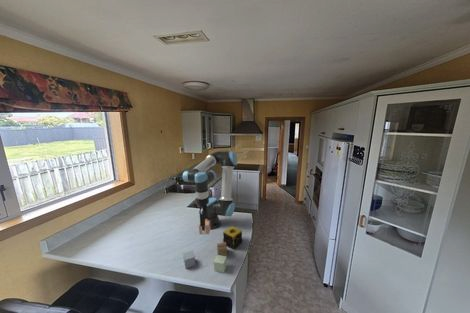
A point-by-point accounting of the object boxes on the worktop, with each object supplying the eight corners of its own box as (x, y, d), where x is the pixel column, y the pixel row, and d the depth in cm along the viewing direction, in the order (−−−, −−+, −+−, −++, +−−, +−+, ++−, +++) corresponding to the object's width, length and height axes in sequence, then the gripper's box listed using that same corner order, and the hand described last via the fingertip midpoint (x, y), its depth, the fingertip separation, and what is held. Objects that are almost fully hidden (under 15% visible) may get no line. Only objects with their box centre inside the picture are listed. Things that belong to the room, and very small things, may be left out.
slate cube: (184, 262, 114) (183, 253, 112) (193, 259, 116) (192, 250, 115) (185, 268, 108) (184, 260, 107) (195, 265, 111) (194, 256, 110)
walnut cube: (217, 251, 122) (216, 243, 121) (226, 250, 123) (225, 242, 122) (218, 257, 116) (217, 249, 115) (227, 256, 117) (226, 248, 116)
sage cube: (217, 263, 112) (217, 254, 111) (227, 264, 110) (226, 256, 109) (214, 270, 106) (213, 261, 105) (223, 272, 104) (223, 263, 103)
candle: (223, 244, 129) (222, 231, 127) (232, 237, 137) (231, 225, 135) (233, 250, 123) (232, 237, 121) (242, 242, 130) (242, 230, 128)
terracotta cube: (201, 229, 118) (200, 220, 117) (210, 228, 118) (209, 220, 117) (199, 234, 112) (198, 225, 111) (209, 234, 112) (208, 225, 111)
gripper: (199, 191, 120) (201, 223, 124) (192, 204, 101) (196, 240, 105) (210, 191, 120) (212, 222, 124) (206, 203, 101) (208, 240, 105)
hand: (205, 230), depth 115 cm, fingers closed on terracotta cube, 6 cm apart
